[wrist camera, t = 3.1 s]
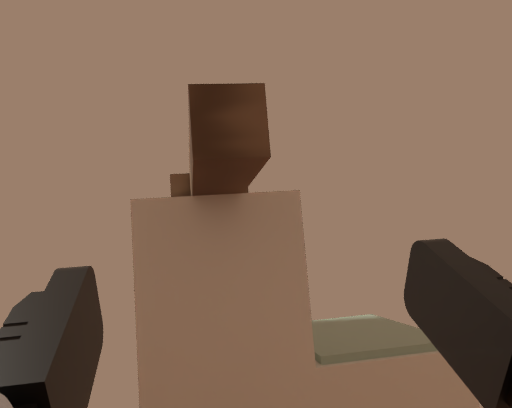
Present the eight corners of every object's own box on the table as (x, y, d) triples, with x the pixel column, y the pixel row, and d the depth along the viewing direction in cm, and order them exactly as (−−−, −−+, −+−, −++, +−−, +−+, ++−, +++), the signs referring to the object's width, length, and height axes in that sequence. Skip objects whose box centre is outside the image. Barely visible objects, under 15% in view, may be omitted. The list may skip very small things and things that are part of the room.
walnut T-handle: (152, 161, 16) (148, 84, 16) (173, 216, 35) (171, 181, 36) (307, 155, 17) (300, 82, 17) (244, 212, 36) (242, 178, 37)
